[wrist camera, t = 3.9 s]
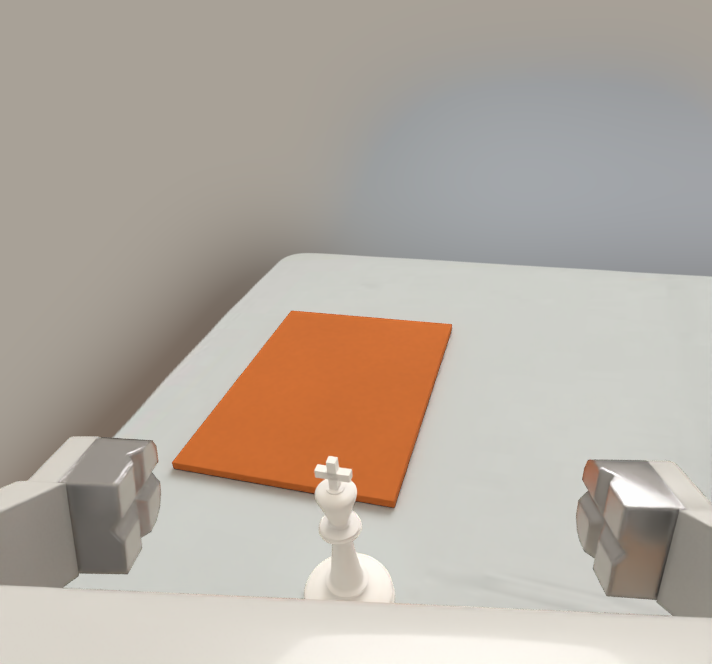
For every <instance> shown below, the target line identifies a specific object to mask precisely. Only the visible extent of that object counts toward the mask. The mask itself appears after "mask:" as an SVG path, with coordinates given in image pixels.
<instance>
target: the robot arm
mask: <svg viewBox="0 0 712 664" xmlns="http://www.w3.org/2000/svg"><path fill="white" fill-rule="evenodd" d="M157 463H158V455H157V447H156V445H155V443H154V442H153V440H138V439H121V438H105V437H102V438H100V437H89V436H74V437H70V438H69V439H68V440H67V441H66V442H65V443H64V444H63V445H62V446H61V447H60V448H59V449H58V450H57V451H56V452H55V453H54V454H53V455H52V456H51V457H50V458H49V459H48V460H47V461H46V462H45V463H44V464H43V465H42V466H41V468H39V469H38V471H37V472H36V473H35V474H34V475H33V476H32V477H31V478H30V479H29V480H28V481H17V482H15V483H12V484H10V485H7V486H5V487H3V488H0V664H712V503H711V502H710V501H709V500H708V499H707V498H706V496H705V495H704V494H703V493H702V492H701V491H700V490H699V489H698V487H697V486H696V485H695V484H694V483H693V482H692V481H691V480H690V479H689V477H688V476H687V475H686V474H685V473H684V472H683V471H682V470H681V468H680V467H679V466H678V465H677V464H676V463H674V462H671V461H646V460H588V461H587V464H586V466H585V468H584V473H583V478H582V480H583V482H584V484H585V486H586V487H587V489H588V491H587V492H586V493H585V494H584V495H583V496H582V497H581V498H580V499H579V500H578V506H577V513H576V523H577V533H578V537H579V541H580V543H581V545H582V547H583V550H584V551H585V552H586V553H587V554H589V555H590V556H592V557H593V558H595V560H594V565H593V570H594V572H595V574H596V576H597V578H598V580H599V582H600V584H601V586H602V588H603V590H604V592H605V594H606V596H611V597H624V598H638V599H652V600H657V601H656V602H657V603H658V604H659V605H661V606H662V607H663V608H664V609H665V610H667V611H668V612H669V613H670V614H671V615H672V616H663V615H641V614H619V613H598V612H576V611H554V610H532V609H510V608H489V607H467V606H445V605H423V604H402V603H380V602H358V601H337V600H315V599H293V598H272V597H250V596H228V595H206V594H185V593H163V592H141V591H120V590H98V589H76V588H63V587H64V586H66V585H67V584H68V583H70V582H71V581H73V580H74V579H75V578H77V577H78V576H79V573H86V574H128V573H129V571H130V569H131V568H132V566H133V564H134V562H135V560H136V559H137V557H138V555H139V553H140V551H141V549H142V542H141V538H142V537H143V536H145V535H147V534H148V533H150V532H151V531H152V529H153V527H154V525H155V523H156V521H157V517H158V513H159V509H160V501H161V488H160V481H159V480H158V479H157V478H156V477H155V475H154V474H153V473H152V471H153V469H154V468H155V466H156V464H157Z"/></svg>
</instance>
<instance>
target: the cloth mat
mask: <svg viewBox="0 0 712 664" xmlns="http://www.w3.org/2000/svg"><path fill="white" fill-rule="evenodd" d="M451 330H452V324H442V323H431V322H419V321H407V320H395V319H383V318H372V317H360V316H348V315H336V314H325V313H313V312H301V311H291V312H290V313H289V314H288V316H287V317H286V318H285V319H284V321H283V322H282V323H281V325H280V326H279V327H278V328H277V330H276V331H275V332H274V333H273V335H272V336H271V337H270V339H269V340H268V341H267V342H266V344H265V345H264V346H263V347H262V349H261V350H260V351H259V353H258V354H257V355H256V356H255V358H254V359H253V360H252V361H251V363H250V364H249V365H248V366H247V368H246V369H245V370H244V372H243V373H242V374H241V375H240V377H239V378H238V379H237V380H236V382H235V383H234V384H233V386H232V387H231V388H230V389H229V391H228V392H227V393H226V394H225V396H224V397H223V398H222V400H221V401H220V402H219V403H218V405H217V406H216V407H215V408H214V410H213V411H212V412H211V414H210V415H209V416H208V417H207V419H206V420H205V421H204V422H203V424H202V425H201V426H200V427H199V429H198V430H197V431H196V433H195V434H194V435H193V436H192V438H191V439H190V440H189V441H188V443H187V444H186V445H185V447H184V448H183V449H182V450H181V452H180V453H179V454H178V455H177V457H176V458H175V459H174V461H173V462H172V464H173V467H174V469H180V470H186V471H191V472H197V473H202V474H208V475H214V476H219V477H225V478H230V479H236V480H242V481H247V482H253V483H258V484H264V485H269V486H275V487H281V488H286V489H292V490H297V491H303V492H309V493H314V494H315V490H316V488H317V486H318V485H319V483H321V482H322V481H323V480H325V479H322V478H315V472H314V470H315V468H316V466H317V464H320V465H326V461H327V458H328V456H333V457H338V464H339V467H340V468H347V469H352V475H353V476H352V479H351V481H352V482H353V483H354V484H355V485H356V488H357V497H356V500H355V501H359V502H365V503H370V504H376V505H381V506H387V507H393V508H394V507H395V504H396V501H397V498H398V495H399V492H400V488H401V485H402V482H403V479H404V476H405V473H406V470H407V467H408V464H409V461H410V457H411V454H412V451H413V448H414V445H415V442H416V439H417V436H418V433H419V430H420V426H421V423H422V420H423V417H424V414H425V411H426V408H427V405H428V402H429V399H430V396H431V392H432V389H433V386H434V383H435V380H436V377H437V374H438V371H439V368H440V365H441V361H442V358H443V355H444V352H445V349H446V346H447V343H448V340H449V337H450V334H451Z"/></svg>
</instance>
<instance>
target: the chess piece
mask: <svg viewBox="0 0 712 664" xmlns="http://www.w3.org/2000/svg"><path fill="white" fill-rule="evenodd" d="M314 472H315V478H322V479H325V480H323V481H322V482H321V483H319V485H318V486H317V488H316V490H315V499H316V502H317V504H318V505H319V507H320V508H321V509H322V510H323V512H324V514H325V515H324V516H323V517H322V519H321V521H320V524H319V534H320V536H321V537H322V539H323V540H324V541H326V542H327V543H330V544H332V557H330V558H328V559H326V560H324V561H323V562H321V563H320V564H319V565H318V566H317V567H316V568H315V569H314V570H313V571H312V573H311V574H310V576H309V578H308V580H307V582H306V585H305V590H304V599H315V600H337V601H358V602H380V603H395V590H394V586H393V583H392V580H391V577H390V575H389V573H388V571H387V570H386V568H385V567H384V566H383V565H382V564H381V563H380V562H379V561H377V560H376V559H374V558H372V557H370V556H368V555H365V554H361V553H356V550H355V547H354V543H353V541H354V540H355V539H356V538H357V537H358V536H359V534H360V533H361V530H362V523H361V520H360V518H359V516H358V515H357V514H356V513H355V512H354V511H352V508H353V505H354V503H355V500H356V497H357V488H356V485H355V484H354V483H353V482H352V481H351V479H352V476H353V475H352V469H347V468H340V467H339V464H338V457H333V456H328V458H327V461H326V465H320V464H317V466H316V468H315V470H314Z"/></svg>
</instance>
